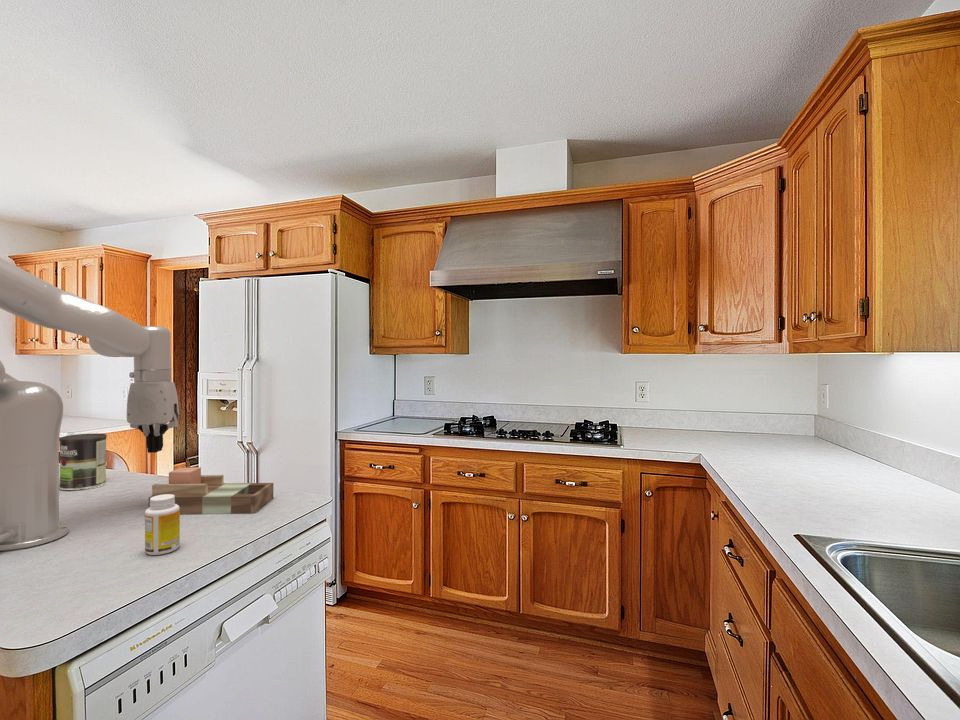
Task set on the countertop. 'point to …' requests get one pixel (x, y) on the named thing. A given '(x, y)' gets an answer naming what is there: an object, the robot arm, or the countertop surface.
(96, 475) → the coffee can
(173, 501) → the supplement bottle
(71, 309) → the robot arm
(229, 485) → the brown rectangular tray
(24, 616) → the countertop surface
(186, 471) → the block
